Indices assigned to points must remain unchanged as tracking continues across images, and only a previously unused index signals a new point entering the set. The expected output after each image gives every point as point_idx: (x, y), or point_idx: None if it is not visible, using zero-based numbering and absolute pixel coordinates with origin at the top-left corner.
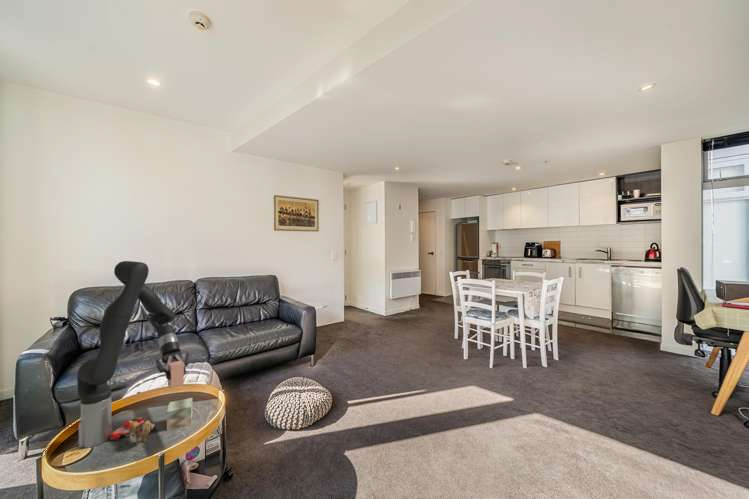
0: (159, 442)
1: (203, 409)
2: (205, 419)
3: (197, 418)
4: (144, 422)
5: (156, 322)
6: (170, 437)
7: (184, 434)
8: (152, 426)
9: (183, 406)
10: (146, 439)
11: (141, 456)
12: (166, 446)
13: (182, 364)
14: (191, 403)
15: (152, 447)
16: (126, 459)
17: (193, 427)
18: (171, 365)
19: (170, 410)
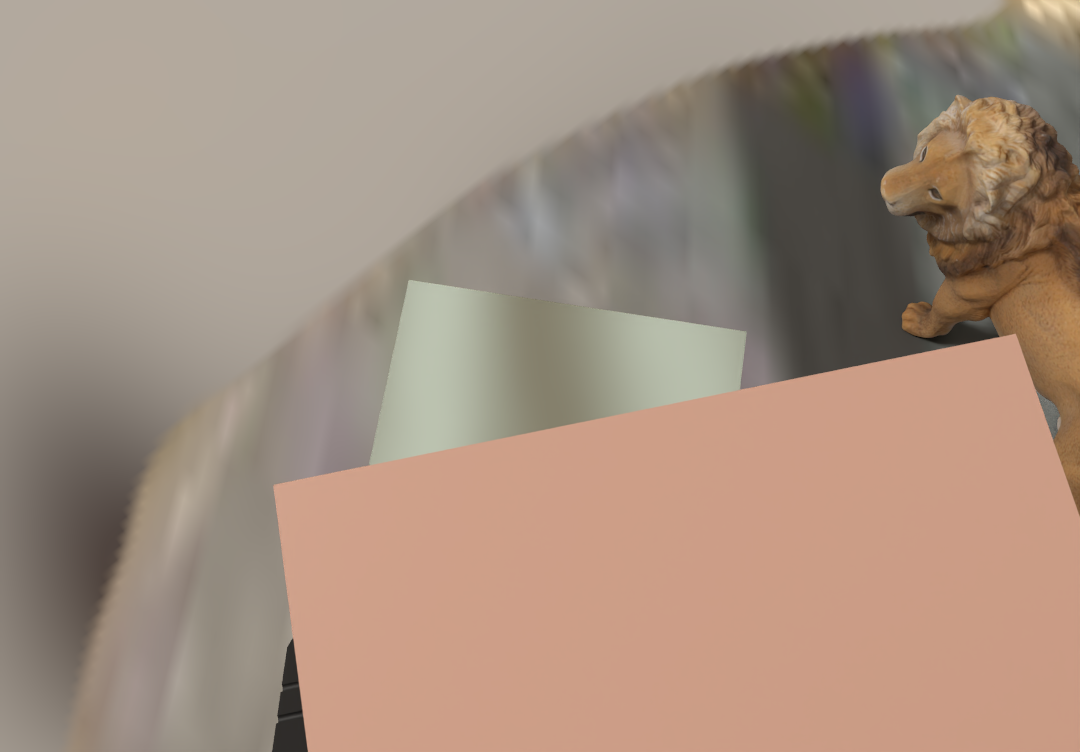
0: (771, 192)
1: (235, 678)
2: (278, 373)
3: (353, 463)
4: (1031, 132)
5: None
6: (668, 220)
7: (534, 189)
8: (900, 166)
9: (509, 360)
10: (903, 324)
11: (915, 53)
12: (708, 79)
13: (366, 484)
14: (385, 391)
15: (832, 143)
16: (1039, 86)
17: (430, 275)
18: (1010, 496)
19: (696, 346)
